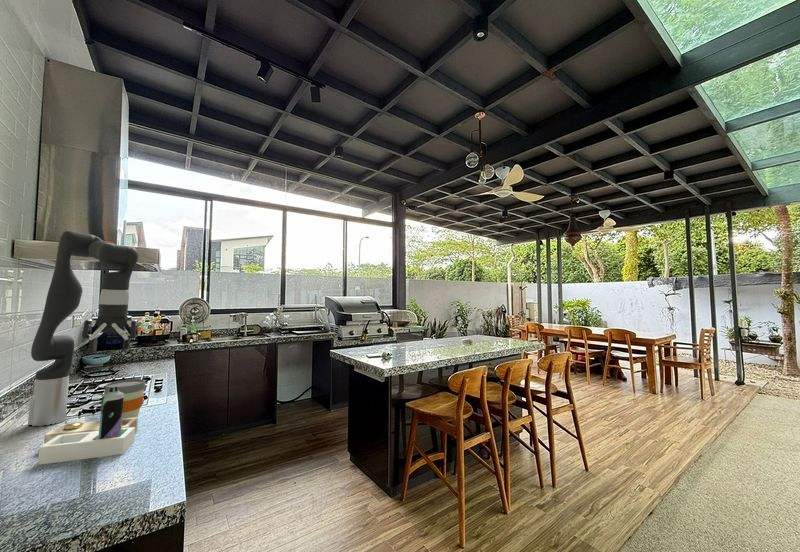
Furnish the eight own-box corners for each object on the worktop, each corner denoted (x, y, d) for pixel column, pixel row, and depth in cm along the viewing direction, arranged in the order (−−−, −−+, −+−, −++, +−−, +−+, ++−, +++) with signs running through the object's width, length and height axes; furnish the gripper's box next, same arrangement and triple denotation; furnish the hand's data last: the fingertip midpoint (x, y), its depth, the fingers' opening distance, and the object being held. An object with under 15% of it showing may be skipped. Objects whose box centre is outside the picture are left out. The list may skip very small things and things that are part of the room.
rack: (37, 464, 95) (39, 447, 95) (56, 451, 103) (58, 435, 103) (122, 454, 102) (124, 437, 102) (134, 442, 110) (135, 427, 111)
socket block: (43, 451, 103) (44, 434, 103) (60, 439, 111) (61, 424, 112) (126, 441, 111) (128, 426, 111) (137, 431, 119) (138, 417, 120)
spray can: (106, 455, 101) (111, 389, 102) (92, 453, 102) (97, 388, 103) (124, 447, 106) (129, 385, 108) (111, 445, 107) (115, 384, 109)
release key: (59, 445, 106) (60, 427, 107) (67, 439, 110) (68, 422, 111) (76, 443, 108) (78, 426, 108) (83, 437, 112) (85, 421, 112)
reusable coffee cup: (106, 419, 130) (109, 381, 131) (145, 414, 136) (148, 377, 137) (96, 430, 119) (100, 388, 120) (139, 424, 125) (142, 384, 126)
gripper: (143, 303, 117) (139, 348, 116) (93, 301, 112) (88, 349, 111) (135, 304, 110) (130, 352, 109) (81, 302, 105) (75, 353, 104)
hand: (109, 350), depth 110 cm, fingers open, 8 cm apart
